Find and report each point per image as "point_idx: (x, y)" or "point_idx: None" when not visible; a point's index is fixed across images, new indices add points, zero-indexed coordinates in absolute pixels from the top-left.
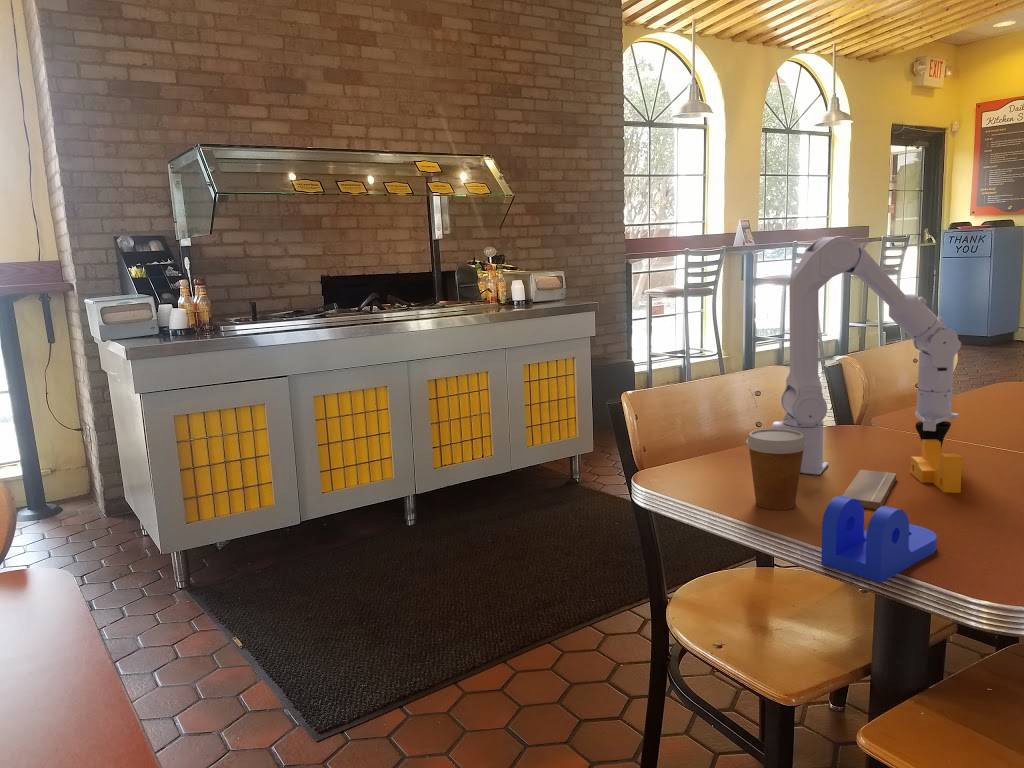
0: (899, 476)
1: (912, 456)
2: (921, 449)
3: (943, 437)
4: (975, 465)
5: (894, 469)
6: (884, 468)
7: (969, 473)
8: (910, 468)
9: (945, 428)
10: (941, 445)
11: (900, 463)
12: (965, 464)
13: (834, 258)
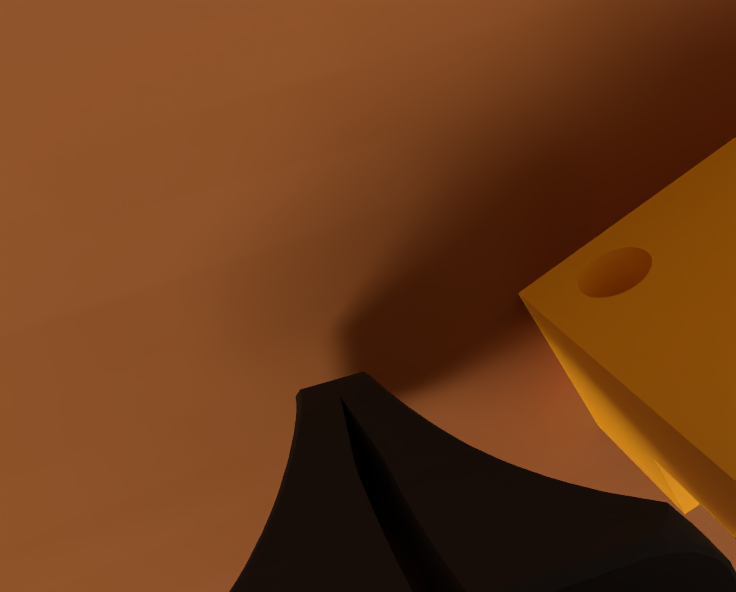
0: None
1: (681, 505)
2: (705, 506)
3: (563, 484)
4: (16, 68)
5: None
6: None
7: (403, 33)
8: (619, 444)
9: (723, 575)
10: (449, 438)
11: None
12: (53, 174)
13: None
